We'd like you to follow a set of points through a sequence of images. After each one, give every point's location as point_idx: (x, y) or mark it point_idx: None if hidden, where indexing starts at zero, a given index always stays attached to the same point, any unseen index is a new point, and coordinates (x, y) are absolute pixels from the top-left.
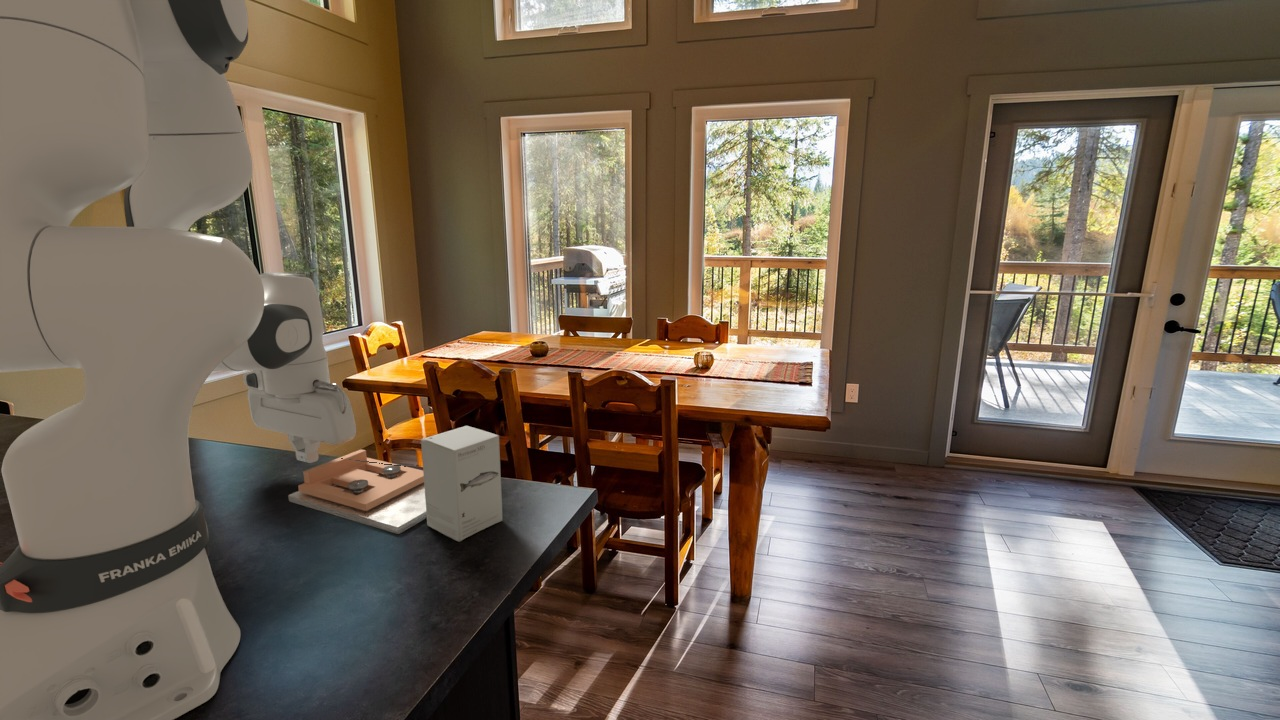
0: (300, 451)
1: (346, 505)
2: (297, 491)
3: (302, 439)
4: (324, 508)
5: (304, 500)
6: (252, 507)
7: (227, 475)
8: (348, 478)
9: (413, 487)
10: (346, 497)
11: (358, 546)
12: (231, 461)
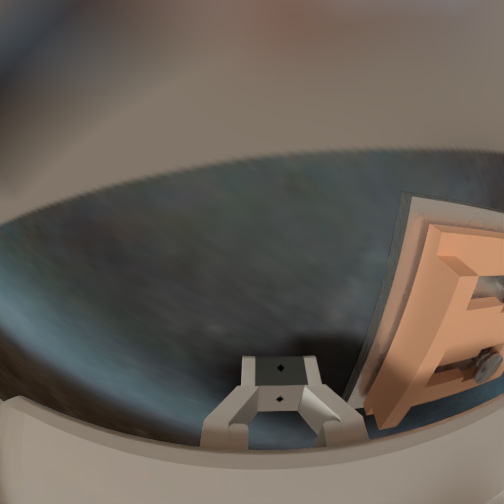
0: (270, 410)
1: None
2: (350, 398)
3: (235, 419)
4: None
5: None
6: (291, 424)
7: (84, 363)
8: (455, 353)
9: None
10: (473, 385)
11: (489, 386)
12: (15, 309)
